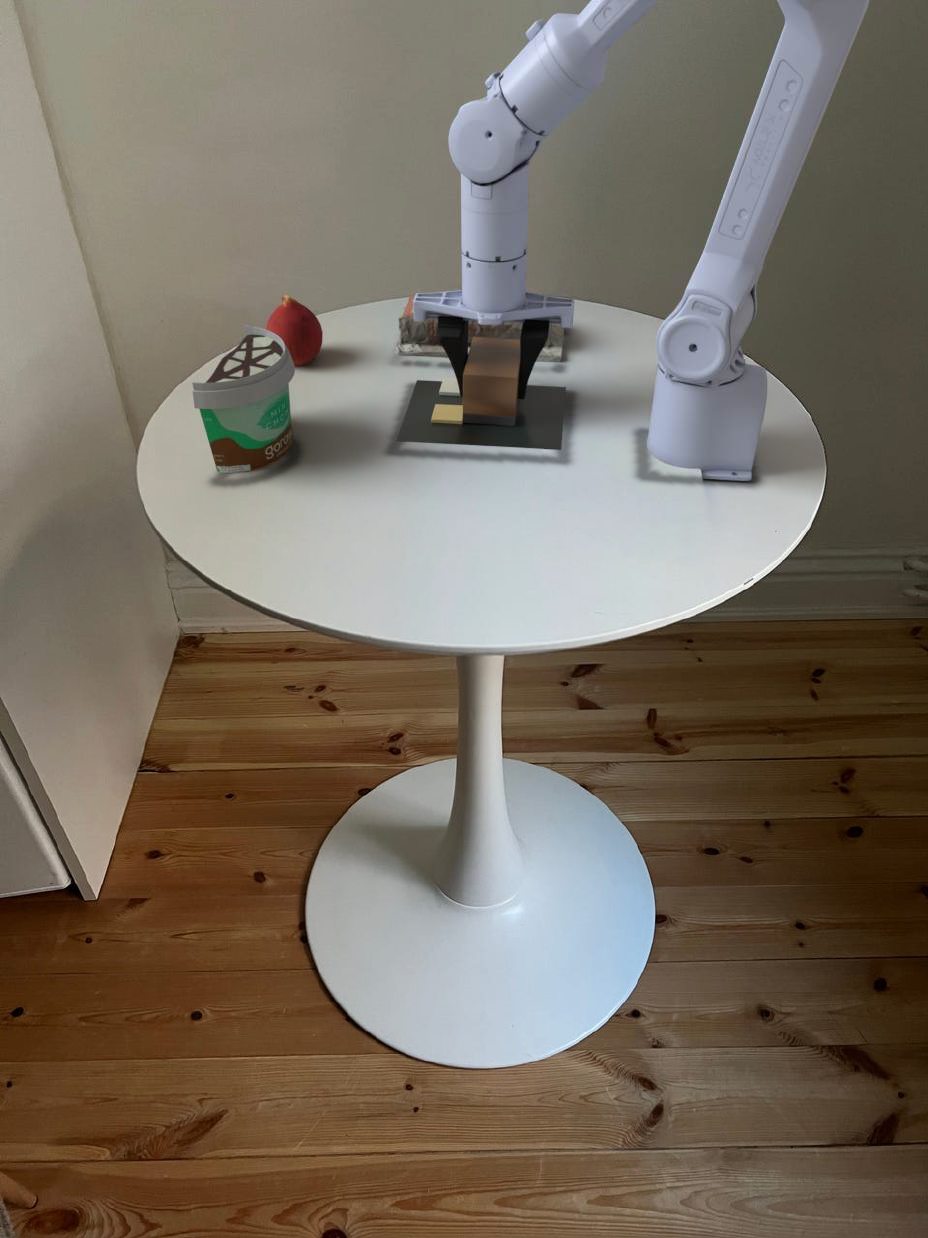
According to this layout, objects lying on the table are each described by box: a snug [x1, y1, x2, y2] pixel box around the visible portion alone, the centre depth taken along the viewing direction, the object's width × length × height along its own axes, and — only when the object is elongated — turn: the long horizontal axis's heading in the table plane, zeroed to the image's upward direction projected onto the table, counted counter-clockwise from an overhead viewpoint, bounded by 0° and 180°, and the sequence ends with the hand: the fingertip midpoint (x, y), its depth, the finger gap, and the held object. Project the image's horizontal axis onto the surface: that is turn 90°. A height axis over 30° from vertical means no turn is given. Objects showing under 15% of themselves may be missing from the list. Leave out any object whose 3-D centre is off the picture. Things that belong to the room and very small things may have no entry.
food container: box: [192, 325, 296, 474], centre depth 82 cm, size 12×6×10 cm, turn 168°
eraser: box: [463, 337, 520, 426], centre depth 88 cm, size 5×8×5 cm, turn 173°
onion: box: [265, 294, 324, 367], centre depth 96 cm, size 6×6×8 cm
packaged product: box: [394, 295, 565, 363], centre depth 100 cm, size 18×5×10 cm
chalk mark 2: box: [431, 404, 463, 424], centre depth 88 cm, size 3×3×1 cm
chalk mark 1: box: [439, 377, 460, 396], centre depth 92 cm, size 3×3×1 cm
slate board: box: [395, 379, 567, 451], centre depth 89 cm, size 16×13×1 cm
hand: (492, 392), depth 89 cm, fingers closed on eraser, 5 cm apart
